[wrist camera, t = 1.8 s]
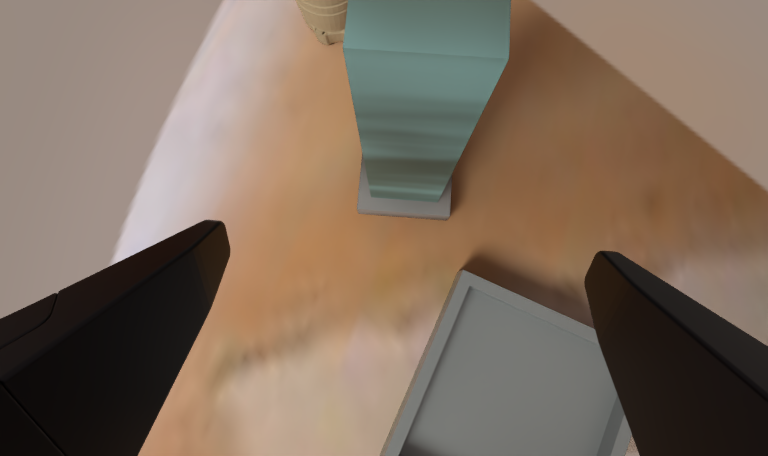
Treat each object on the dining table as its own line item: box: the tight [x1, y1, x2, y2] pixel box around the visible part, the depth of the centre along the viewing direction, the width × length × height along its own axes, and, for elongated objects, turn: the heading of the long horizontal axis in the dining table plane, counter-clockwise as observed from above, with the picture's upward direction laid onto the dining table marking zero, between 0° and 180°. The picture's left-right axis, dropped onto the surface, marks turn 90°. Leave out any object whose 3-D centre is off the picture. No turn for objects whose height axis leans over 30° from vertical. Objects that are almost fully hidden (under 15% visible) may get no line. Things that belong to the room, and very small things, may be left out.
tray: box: [380, 270, 632, 456], centre depth 19 cm, size 10×10×2 cm
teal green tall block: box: [343, 0, 511, 220], centre depth 16 cm, size 5×5×14 cm
